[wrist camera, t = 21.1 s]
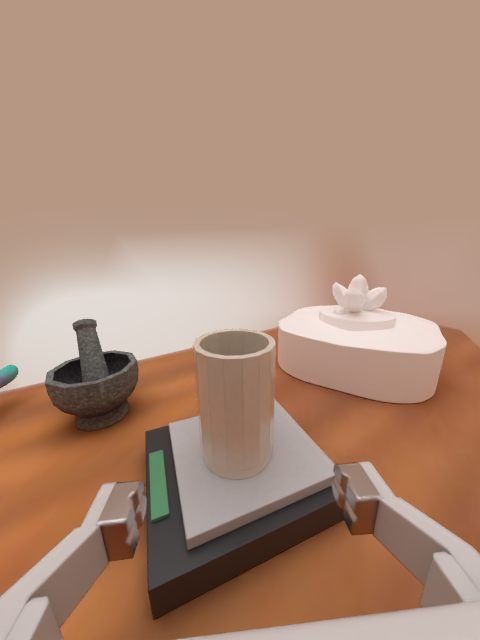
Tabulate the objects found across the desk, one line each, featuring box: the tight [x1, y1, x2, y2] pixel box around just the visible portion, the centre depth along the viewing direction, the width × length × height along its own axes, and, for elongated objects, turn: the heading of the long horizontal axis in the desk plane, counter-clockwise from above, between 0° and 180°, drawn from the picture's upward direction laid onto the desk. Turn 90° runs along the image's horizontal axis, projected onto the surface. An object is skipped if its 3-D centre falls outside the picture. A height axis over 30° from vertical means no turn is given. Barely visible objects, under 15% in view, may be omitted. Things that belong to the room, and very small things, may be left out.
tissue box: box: [278, 274, 447, 403], centre depth 43 cm, size 25×25×16 cm
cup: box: [193, 329, 276, 480], centre depth 20 cm, size 6×6×10 cm
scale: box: [146, 399, 344, 619], centre depth 21 cm, size 15×13×4 cm
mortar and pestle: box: [45, 319, 138, 431], centre depth 30 cm, size 11×9×12 cm
